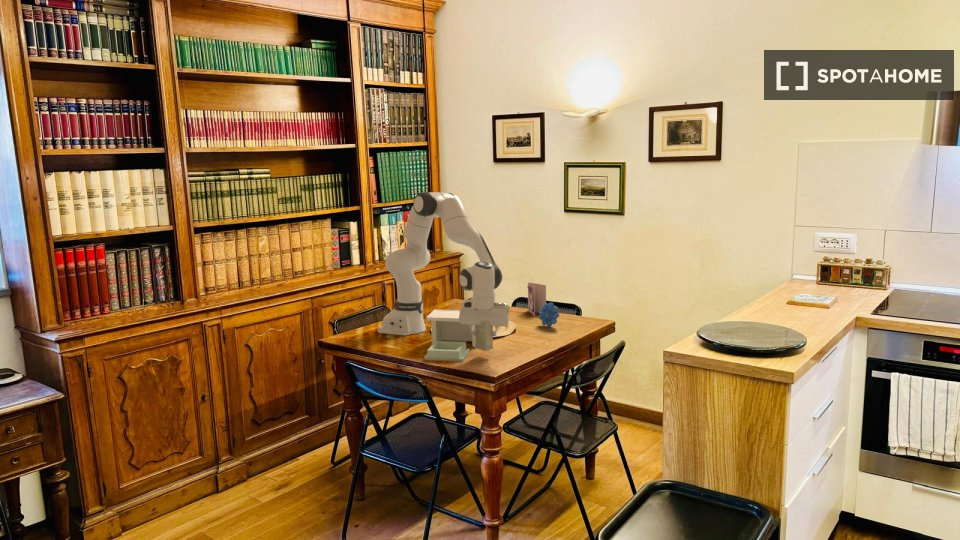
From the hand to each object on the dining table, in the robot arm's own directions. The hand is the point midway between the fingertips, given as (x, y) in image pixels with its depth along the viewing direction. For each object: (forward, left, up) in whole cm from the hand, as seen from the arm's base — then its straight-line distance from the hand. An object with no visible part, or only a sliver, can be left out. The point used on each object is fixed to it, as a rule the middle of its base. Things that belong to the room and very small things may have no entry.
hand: (483, 335), depth 279 cm
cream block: (-15, +16, -9) cm, 24 cm away
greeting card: (+14, +75, -9) cm, 77 cm away
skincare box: (0, 0, -6) cm, 6 cm away
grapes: (+23, +50, -9) cm, 55 cm away
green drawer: (-15, 0, -9) cm, 18 cm away
